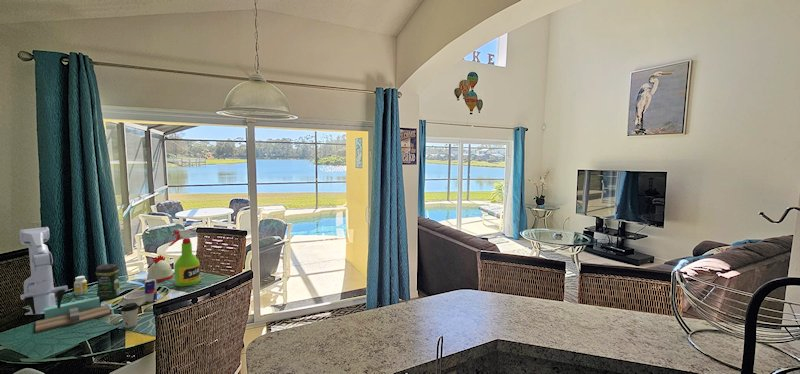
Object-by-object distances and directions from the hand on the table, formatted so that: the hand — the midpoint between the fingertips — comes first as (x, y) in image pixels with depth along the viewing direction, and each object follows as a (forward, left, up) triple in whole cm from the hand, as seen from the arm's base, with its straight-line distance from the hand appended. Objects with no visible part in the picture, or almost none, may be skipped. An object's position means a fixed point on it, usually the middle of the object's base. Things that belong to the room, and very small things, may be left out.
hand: (46, 310), depth 151 cm
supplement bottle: (-46, -16, -11) cm, 50 cm away
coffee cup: (-2, +32, -11) cm, 33 cm away
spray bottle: (-54, +35, -11) cm, 65 cm away
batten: (-21, -4, -11) cm, 24 cm away
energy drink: (-29, +28, -11) cm, 42 cm away
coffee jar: (-39, +2, -11) cm, 41 cm away
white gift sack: (-66, +16, -11) cm, 69 cm away
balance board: (-13, +2, -11) cm, 17 cm away
